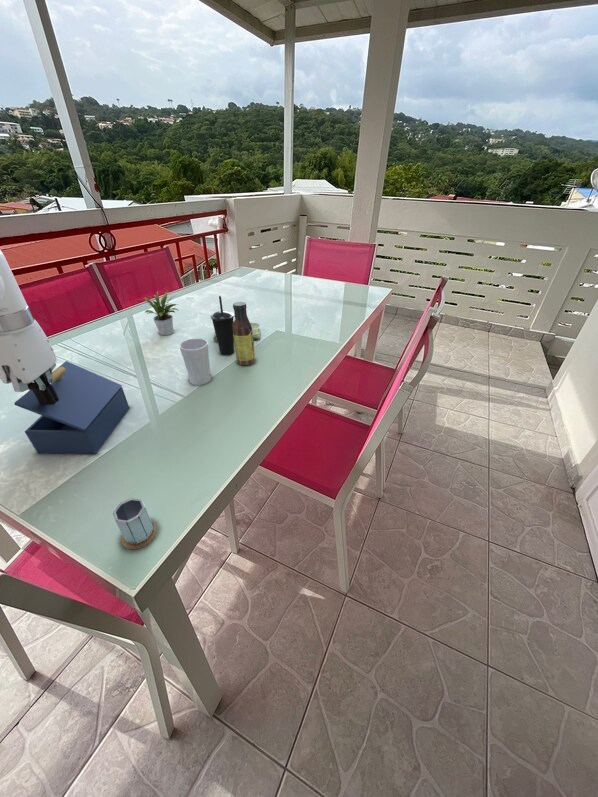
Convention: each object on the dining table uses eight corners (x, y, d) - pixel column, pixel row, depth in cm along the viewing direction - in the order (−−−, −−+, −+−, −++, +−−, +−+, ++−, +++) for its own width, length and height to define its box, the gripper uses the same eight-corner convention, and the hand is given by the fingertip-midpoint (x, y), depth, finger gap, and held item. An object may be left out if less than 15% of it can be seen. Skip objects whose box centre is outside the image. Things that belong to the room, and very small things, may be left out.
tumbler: (129, 550, 55) (117, 527, 52) (122, 530, 58) (110, 507, 55) (156, 535, 58) (147, 512, 54) (149, 517, 61) (139, 494, 57)
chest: (37, 453, 75) (24, 431, 71) (81, 407, 89) (71, 386, 86) (95, 454, 75) (85, 432, 71) (129, 407, 89) (122, 387, 86)
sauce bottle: (258, 363, 110) (254, 305, 99) (240, 368, 108) (234, 308, 96) (250, 355, 115) (245, 299, 104) (233, 359, 112) (226, 302, 101)
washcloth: (261, 341, 125) (260, 333, 123) (213, 343, 123) (212, 335, 121) (259, 327, 136) (259, 320, 134) (215, 329, 133) (214, 322, 132)
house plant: (151, 344, 122) (139, 300, 112) (139, 332, 130) (127, 291, 121) (188, 334, 129) (180, 293, 120) (174, 324, 138) (166, 284, 128)
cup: (218, 376, 103) (213, 341, 96) (202, 388, 97) (195, 352, 91) (198, 370, 106) (191, 336, 99) (181, 382, 100) (173, 346, 93)
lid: (14, 404, 67) (16, 389, 65) (65, 362, 82) (68, 349, 79) (84, 431, 71) (88, 418, 69) (121, 387, 86) (125, 375, 83)
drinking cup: (212, 356, 114) (203, 299, 103) (220, 346, 121) (213, 291, 109) (233, 358, 113) (227, 300, 102) (240, 348, 120) (235, 293, 108)
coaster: (126, 556, 55) (125, 554, 55) (118, 531, 59) (117, 530, 59) (160, 538, 58) (159, 536, 58) (150, 515, 62) (150, 514, 61)
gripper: (16, 305, 66) (54, 383, 76) (-50, 336, 53) (6, 424, 64) (53, 306, 66) (86, 384, 76) (-4, 337, 53) (44, 425, 64)
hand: (49, 402), depth 70 cm, fingers closed
